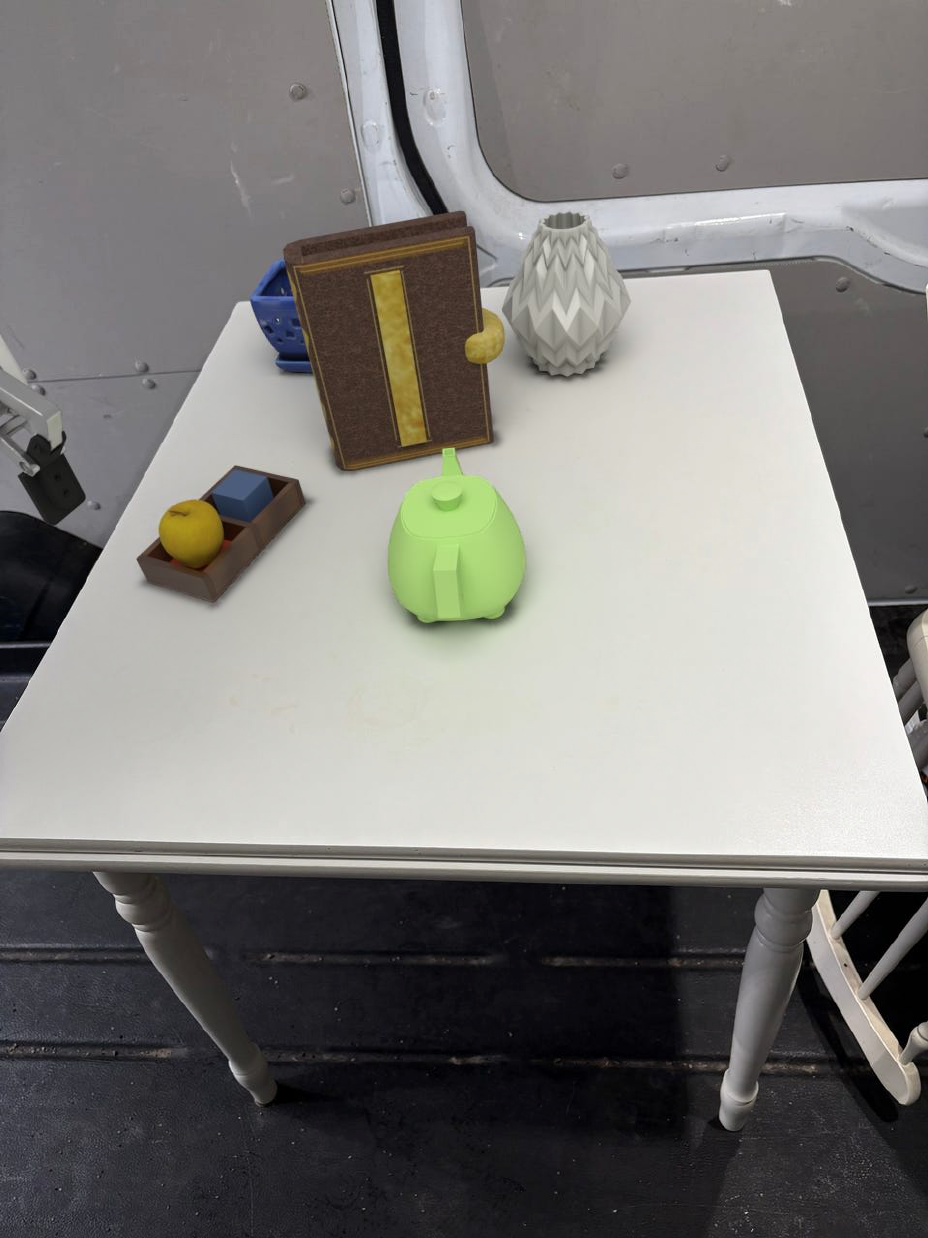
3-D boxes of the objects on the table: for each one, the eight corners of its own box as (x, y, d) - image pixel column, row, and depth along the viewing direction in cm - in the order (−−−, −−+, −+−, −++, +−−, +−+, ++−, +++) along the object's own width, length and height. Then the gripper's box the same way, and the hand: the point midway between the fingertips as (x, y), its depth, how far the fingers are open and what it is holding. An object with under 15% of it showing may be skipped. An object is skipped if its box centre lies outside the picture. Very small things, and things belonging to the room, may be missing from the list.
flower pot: (380, 333, 124) (365, 252, 116) (359, 379, 115) (341, 295, 107) (295, 335, 127) (275, 256, 118) (269, 381, 118) (244, 299, 109)
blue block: (223, 523, 95) (210, 492, 92) (246, 500, 98) (235, 468, 94) (254, 532, 93) (243, 500, 90) (277, 508, 96) (267, 476, 93)
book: (338, 478, 99) (285, 270, 82) (332, 440, 105) (281, 238, 88) (518, 442, 101) (504, 230, 83) (502, 406, 107) (486, 201, 89)
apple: (168, 583, 88) (140, 525, 83) (183, 543, 93) (157, 485, 87) (227, 579, 88) (202, 520, 82) (239, 539, 92) (216, 481, 87)
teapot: (402, 529, 92) (382, 431, 83) (524, 520, 90) (517, 420, 82) (387, 667, 78) (361, 567, 69) (531, 659, 77) (524, 556, 68)
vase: (615, 397, 106) (620, 250, 92) (492, 388, 110) (479, 246, 97) (637, 335, 116) (644, 194, 103) (524, 328, 121) (516, 193, 107)
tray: (213, 602, 86) (203, 578, 84) (147, 582, 90) (135, 558, 87) (305, 503, 97) (298, 479, 94) (243, 488, 100) (235, 464, 98)
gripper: (-300, 256, 45) (-113, 505, 58) (-94, 288, 39) (67, 561, 51) (-177, 203, 50) (-27, 445, 62) (26, 225, 43) (148, 489, 56)
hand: (15, 497), depth 57 cm, fingers open, 9 cm apart
